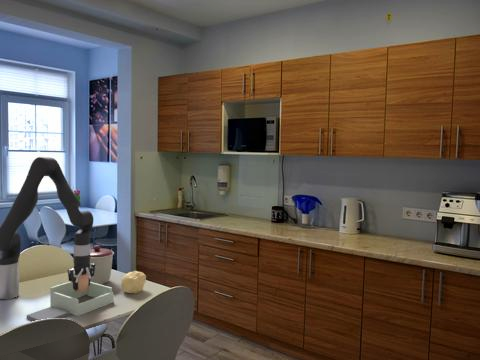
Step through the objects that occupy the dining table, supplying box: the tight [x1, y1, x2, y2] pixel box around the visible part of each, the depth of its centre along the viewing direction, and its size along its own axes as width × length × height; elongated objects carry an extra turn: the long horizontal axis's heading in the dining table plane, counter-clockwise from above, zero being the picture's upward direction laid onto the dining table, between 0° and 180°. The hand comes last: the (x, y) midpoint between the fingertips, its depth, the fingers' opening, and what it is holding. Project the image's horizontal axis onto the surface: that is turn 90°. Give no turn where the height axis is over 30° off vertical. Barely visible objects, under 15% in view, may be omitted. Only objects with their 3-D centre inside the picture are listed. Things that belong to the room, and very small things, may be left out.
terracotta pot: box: [75, 273, 89, 293], centre depth 191 cm, size 6×6×8 cm
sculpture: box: [121, 270, 147, 294], centre depth 210 cm, size 12×12×11 cm
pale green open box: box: [49, 281, 114, 317], centre depth 192 cm, size 20×20×9 cm
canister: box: [88, 244, 115, 285], centre depth 223 cm, size 18×18×21 cm
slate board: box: [26, 306, 69, 322], centre depth 177 cm, size 12×12×2 cm
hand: (81, 287), depth 192 cm, fingers closed on terracotta pot, 6 cm apart
